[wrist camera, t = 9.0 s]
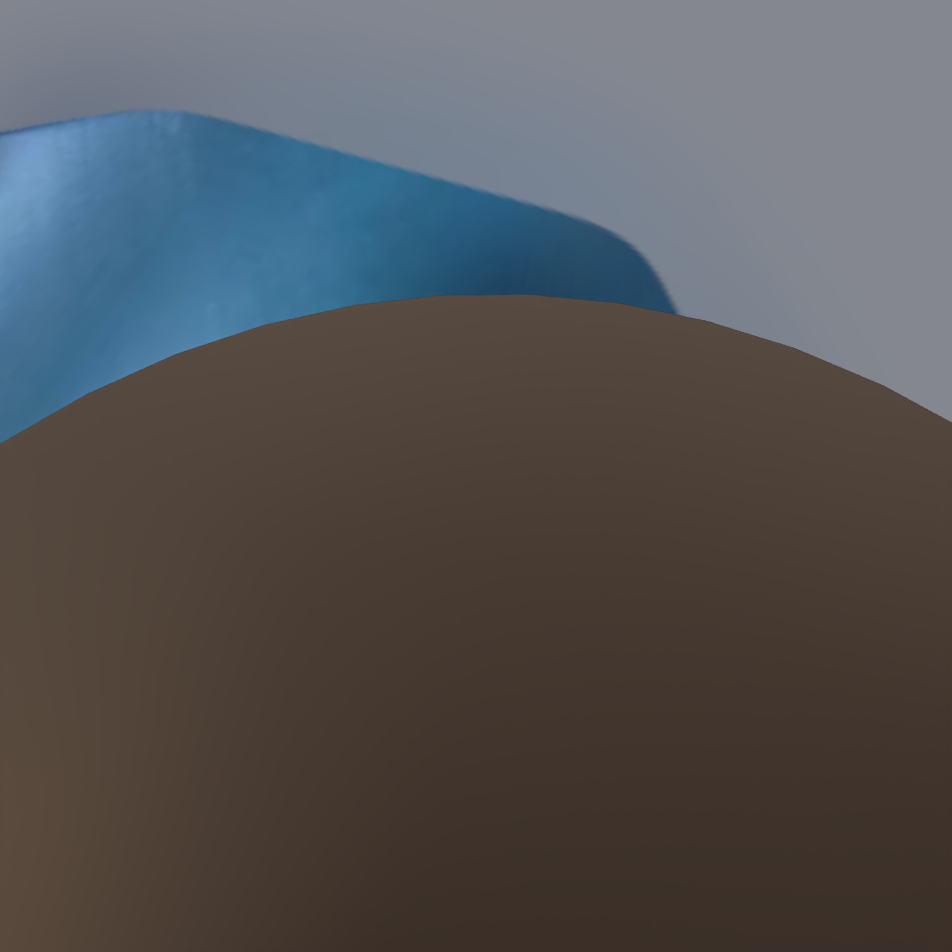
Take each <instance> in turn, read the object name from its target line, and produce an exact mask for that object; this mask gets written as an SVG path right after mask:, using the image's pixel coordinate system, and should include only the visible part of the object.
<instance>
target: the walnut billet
mask: <svg viewBox="0 0 952 952" xmlns="http://www.w3.org/2000/svg"><path fill="white" fill-rule="evenodd" d="M0 952H952V422H949V421H948V420H946V419H944V418H942V417H941V416H939V415H937V414H935V413H933V412H931V411H929V410H928V409H926V408H924V407H922V406H920V405H918V404H917V403H915V402H913V401H911V400H909V399H907V398H906V397H904V396H902V395H900V394H898V393H896V392H894V391H893V390H891V389H889V388H887V387H885V386H883V385H881V384H879V383H876V382H874V381H871V380H869V379H867V378H864V377H862V376H860V375H857V374H855V373H852V372H850V371H848V370H845V369H843V368H840V367H838V366H836V365H833V364H831V363H829V362H826V361H824V360H822V359H819V358H817V357H814V356H812V355H810V354H807V353H805V352H803V351H800V350H798V349H795V348H793V347H789V346H786V345H783V344H780V343H776V342H773V341H770V340H767V339H763V338H760V337H757V336H753V335H750V334H747V333H744V332H741V331H737V330H734V329H731V328H727V327H724V326H721V325H718V324H715V323H712V322H708V321H705V320H700V319H694V318H689V317H685V316H680V315H675V314H670V313H665V312H660V311H655V310H650V309H645V308H640V307H635V306H630V305H625V304H620V303H612V302H601V301H591V300H580V299H569V298H559V297H548V296H538V295H441V296H432V297H423V298H414V299H405V300H397V301H388V302H379V303H370V304H362V305H353V306H348V307H343V308H339V309H334V310H330V311H325V312H321V313H316V314H312V315H307V316H303V317H298V318H294V319H289V320H285V321H280V322H275V323H271V324H266V325H263V326H260V327H256V328H253V329H250V330H247V331H244V332H241V333H238V334H235V335H232V336H229V337H226V338H223V339H220V340H217V341H214V342H211V343H208V344H205V345H202V346H199V347H196V348H193V349H190V350H187V351H184V352H181V353H178V354H175V355H173V356H171V357H168V358H166V359H164V360H162V361H159V362H157V363H155V364H153V365H151V366H148V367H146V368H144V369H142V370H139V371H137V372H135V373H133V374H130V375H128V376H126V377H124V378H122V379H119V380H117V381H115V382H113V383H110V384H108V385H106V386H104V387H101V388H99V389H97V390H95V391H93V392H90V393H88V394H86V395H84V396H83V397H81V398H79V399H77V400H76V401H74V402H72V403H70V404H69V405H67V406H65V407H63V408H62V409H60V410H58V411H56V412H55V413H53V414H51V415H49V416H48V417H46V418H44V419H42V420H41V421H39V422H37V423H36V424H34V425H32V426H30V427H29V428H27V429H25V430H23V431H22V432H20V433H18V434H16V435H15V436H13V437H11V438H9V439H8V440H6V441H4V442H2V443H1V444H0Z"/></svg>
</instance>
